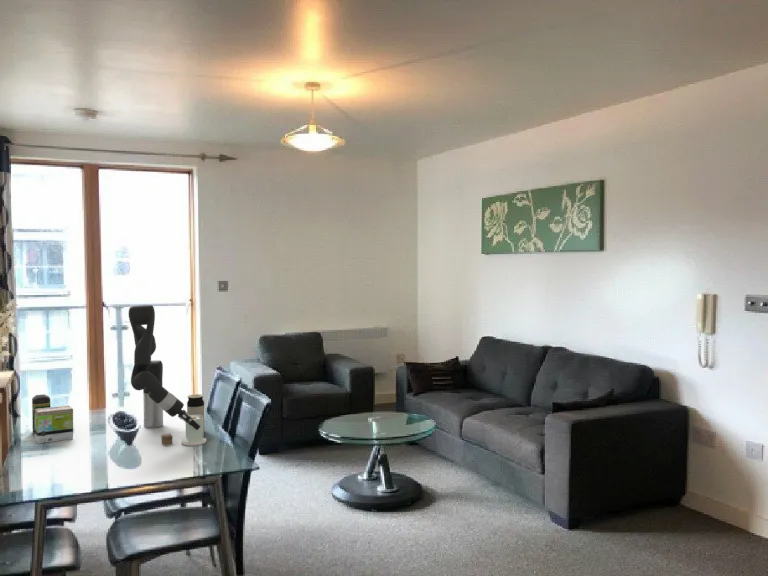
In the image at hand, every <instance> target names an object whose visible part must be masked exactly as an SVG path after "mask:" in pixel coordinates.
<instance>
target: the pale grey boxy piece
mask: <svg viewBox="0 0 768 576" xmlns="http://www.w3.org/2000/svg"><path fill="white" fill-rule="evenodd" d="M192 419H193V420H194V421H195V422H196V423H197V424H198V425H199V426H200V428H199V429H198V430H196V429H195V428H194V427H193V426H191V425H189V424H188V423H186V422H185V439H186V440H187V441H188V443H189V442H197V441H202V419H201V418H200V417H199V416H198V417H192ZM191 421H192V420H191V419H190V420H189V421H188V422H189V423H190V422H191Z"/></svg>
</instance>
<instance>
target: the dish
mask: <svg viewBox="0 0 768 576" xmlns="http://www.w3.org/2000/svg"><path fill="white" fill-rule="evenodd" d="M180 443H181V445H182V446H185V447H196V446H201V445H205V444H207V438H206V437H202V441H197V442H189V443H188V441H187V440H186V438H184V439H183V438H182V439H181V441H180Z"/></svg>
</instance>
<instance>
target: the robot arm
mask: <svg viewBox="0 0 768 576" xmlns="http://www.w3.org/2000/svg"><path fill="white" fill-rule="evenodd" d="M155 316H156V312H155V306H153V304H135V305H131V306H130V307H129V308H128V320H129V323H130V326H131V330H132V333H133V337H134V338H133V340H134V345H135V348H134V354H133V360H134V361H133V362H134V363H133V368H132V372H131V376H130V384H131V386H132V388H133V389H134V390H135V391H142V390H143V393H142V394H143V397H142V398H143V427H144V428H146V429H153V428H154V429H155V428H160V427H163V426H164V412H165V413H167V414H168V415H169V416H170V417H171V418H172V417H176V416H177V417H178V418H179V419H180V420H182V421H183V422H185V424H186V423H188V424H189V425H191V426H193V427H194V428H195V429H196V430H198V429H199V428H200V426H199V425H198V424H197V423H196V422H195V421H194V420H193V419H192V417H191V416H190V415H189V414H188V413H187V410H186V409H184V405H185V404H184V403H183V401H181V399H179V398H177V397H176V395H174V394H172V393H171V392H170V391H168V389H166V388H165V387H163V376H164V375H163V374H164V373H163V372H164V367H163V366H164V365H163V361H162V360H159V359H158V360H157V359H156V360H155V359H154V360H152V356H153V354H154V353H155V351H156V349H157V342H156V338H155V336H154V330H155V321H156V320H155V319H156V317H155ZM145 325H146V327H144V326H145ZM190 419H191V420H192V421H191V422H190V423H189V422H188V421H189V420H190Z"/></svg>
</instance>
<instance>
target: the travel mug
mask: <svg viewBox="0 0 768 576" xmlns="http://www.w3.org/2000/svg"><path fill="white" fill-rule="evenodd" d="M186 396H187V402H186V412H187V413H188V414H189V415H195V414H201V415H202V416H203V432H205V430H206V428H205V427H206V426H205V401H204V394H199V393H196V394H188V395H186Z"/></svg>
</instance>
